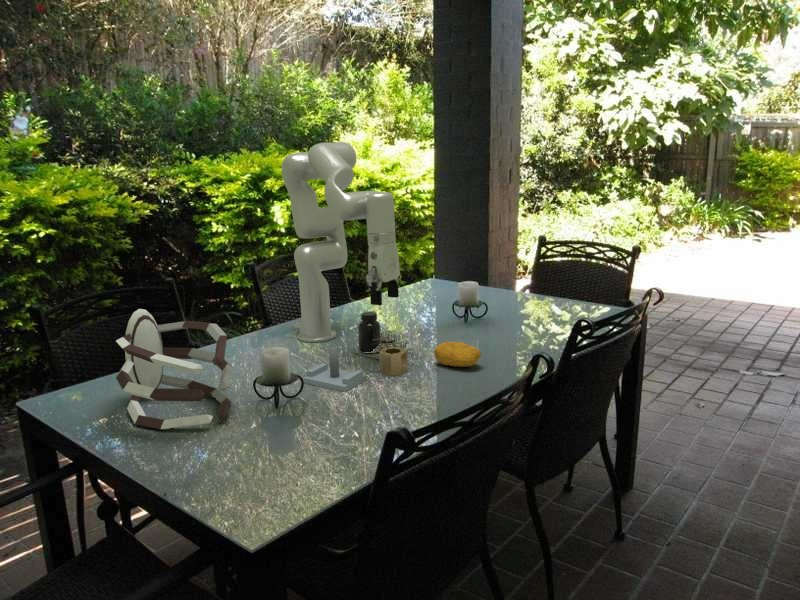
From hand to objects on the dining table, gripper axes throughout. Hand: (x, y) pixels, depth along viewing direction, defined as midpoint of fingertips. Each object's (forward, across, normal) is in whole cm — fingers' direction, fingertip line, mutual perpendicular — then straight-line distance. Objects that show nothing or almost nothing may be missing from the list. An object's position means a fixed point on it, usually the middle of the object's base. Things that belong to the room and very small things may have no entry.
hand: (385, 300), depth 181 cm
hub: (+20, +1, -1) cm, 21 cm away
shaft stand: (+20, -12, +10) cm, 26 cm away
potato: (+21, +12, -16) cm, 29 cm away
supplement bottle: (+20, +14, +14) cm, 28 cm away
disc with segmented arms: (+20, -44, +36) cm, 60 cm away
